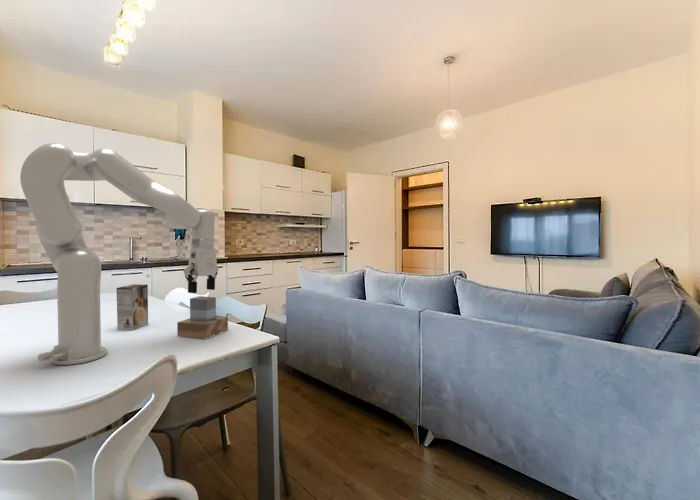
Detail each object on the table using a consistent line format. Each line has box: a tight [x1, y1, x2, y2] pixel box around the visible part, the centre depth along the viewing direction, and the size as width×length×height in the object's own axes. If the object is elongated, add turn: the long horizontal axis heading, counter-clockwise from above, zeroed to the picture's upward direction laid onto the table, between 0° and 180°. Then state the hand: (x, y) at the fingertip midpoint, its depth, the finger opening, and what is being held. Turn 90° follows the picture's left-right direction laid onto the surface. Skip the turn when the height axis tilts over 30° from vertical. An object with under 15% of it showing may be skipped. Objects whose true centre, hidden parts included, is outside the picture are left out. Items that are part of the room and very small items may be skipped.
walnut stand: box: [176, 315, 229, 340], centre depth 122 cm, size 12×12×5 cm
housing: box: [189, 295, 217, 322], centre depth 122 cm, size 5×7×8 cm
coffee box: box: [116, 284, 149, 331], centre depth 129 cm, size 9×6×16 cm
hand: (201, 291), depth 121 cm, fingers open, 9 cm apart
